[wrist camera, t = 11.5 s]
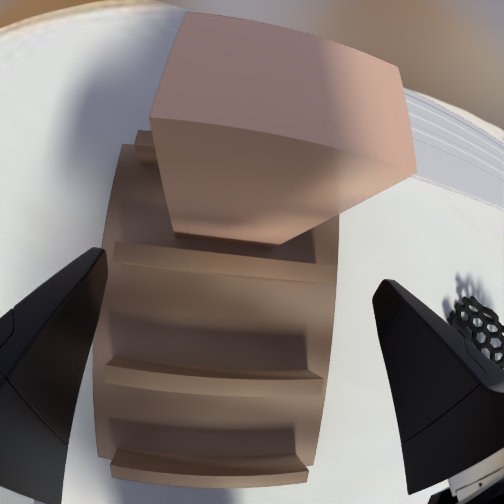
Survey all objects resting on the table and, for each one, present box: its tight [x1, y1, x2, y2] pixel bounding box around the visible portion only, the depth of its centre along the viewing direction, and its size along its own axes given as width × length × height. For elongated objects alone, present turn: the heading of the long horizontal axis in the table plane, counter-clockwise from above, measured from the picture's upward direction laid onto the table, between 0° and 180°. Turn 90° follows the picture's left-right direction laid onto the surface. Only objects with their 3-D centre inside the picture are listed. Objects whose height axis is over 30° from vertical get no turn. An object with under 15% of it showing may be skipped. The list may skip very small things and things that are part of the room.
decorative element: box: [447, 296, 504, 371], centre depth 20 cm, size 22×5×6 cm, turn 39°
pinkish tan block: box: [149, 12, 417, 248], centre depth 12 cm, size 4×6×13 cm, turn 85°
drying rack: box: [93, 130, 339, 488], centre depth 17 cm, size 21×15×4 cm
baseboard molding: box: [403, 88, 504, 211], centre depth 25 cm, size 31×3×12 cm
